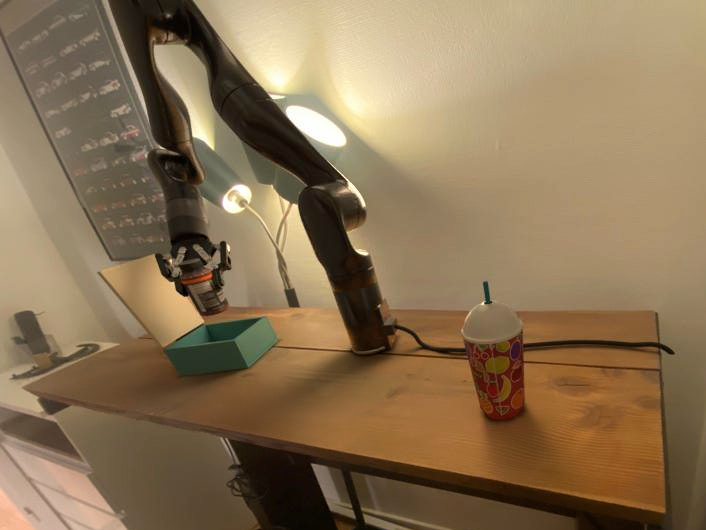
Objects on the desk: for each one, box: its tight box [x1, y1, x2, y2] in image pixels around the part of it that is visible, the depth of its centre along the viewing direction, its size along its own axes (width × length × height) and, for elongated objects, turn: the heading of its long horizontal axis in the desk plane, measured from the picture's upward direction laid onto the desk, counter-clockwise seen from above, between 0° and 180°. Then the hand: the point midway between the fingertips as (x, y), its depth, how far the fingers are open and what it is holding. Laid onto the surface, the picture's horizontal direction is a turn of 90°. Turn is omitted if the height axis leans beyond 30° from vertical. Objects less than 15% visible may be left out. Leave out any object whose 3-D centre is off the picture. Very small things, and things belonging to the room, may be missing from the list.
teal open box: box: [163, 315, 279, 377], centre depth 88 cm, size 17×14×7 cm
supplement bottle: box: [178, 259, 230, 317], centre depth 80 cm, size 6×6×11 cm
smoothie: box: [460, 280, 526, 421], centre depth 52 cm, size 8×8×20 cm
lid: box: [96, 253, 205, 349], centre depth 83 cm, size 18×14×5 cm
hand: (201, 290), depth 79 cm, fingers closed on supplement bottle, 6 cm apart
